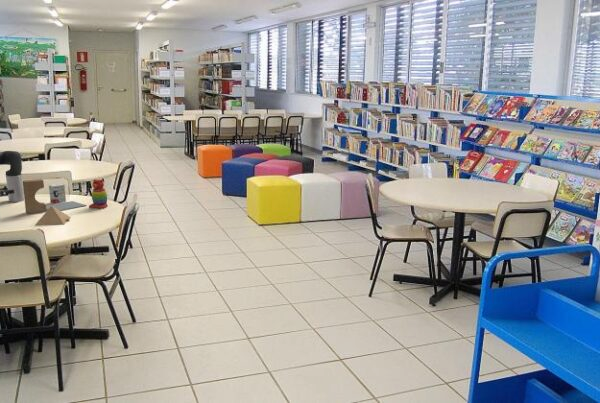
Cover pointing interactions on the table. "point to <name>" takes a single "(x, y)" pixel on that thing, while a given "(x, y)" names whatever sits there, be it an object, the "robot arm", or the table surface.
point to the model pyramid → (53, 217)
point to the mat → (66, 205)
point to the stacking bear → (98, 195)
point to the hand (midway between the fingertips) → (10, 190)
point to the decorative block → (33, 196)
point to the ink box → (57, 193)
